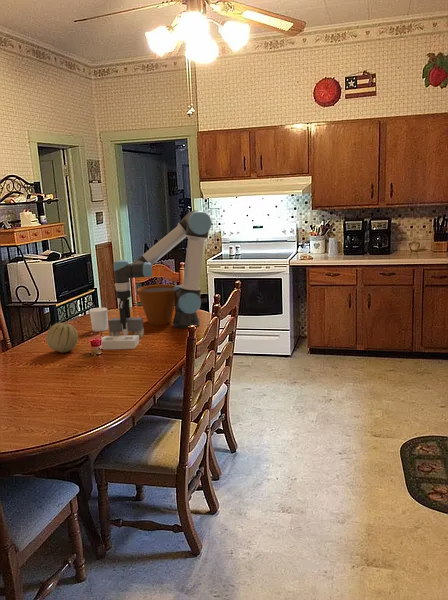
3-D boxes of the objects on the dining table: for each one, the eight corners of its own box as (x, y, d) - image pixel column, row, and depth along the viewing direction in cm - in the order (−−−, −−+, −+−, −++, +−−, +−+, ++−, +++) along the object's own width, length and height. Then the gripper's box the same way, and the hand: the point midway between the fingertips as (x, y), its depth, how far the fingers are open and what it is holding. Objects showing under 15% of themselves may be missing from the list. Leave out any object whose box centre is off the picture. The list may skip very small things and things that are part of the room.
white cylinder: (107, 332, 293) (105, 311, 291) (89, 332, 294) (87, 311, 291) (111, 327, 303) (109, 307, 301) (94, 328, 303) (92, 307, 301)
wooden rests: (144, 335, 284) (143, 327, 283) (141, 338, 278) (141, 331, 277) (112, 336, 285) (111, 328, 284) (109, 339, 279) (108, 331, 278)
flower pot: (136, 319, 320) (134, 286, 316) (175, 314, 327) (173, 282, 322) (142, 328, 298) (140, 293, 293) (184, 323, 304) (182, 289, 300)
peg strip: (143, 334, 283) (142, 317, 281) (141, 337, 278) (140, 319, 277) (112, 335, 284) (110, 318, 282) (109, 338, 280) (108, 320, 278)
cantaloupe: (41, 354, 258) (38, 324, 255) (63, 346, 271) (60, 317, 267) (64, 357, 251) (60, 327, 248) (85, 349, 264) (82, 319, 261)
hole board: (139, 342, 270) (138, 335, 269) (135, 348, 261) (134, 340, 260) (104, 343, 271) (103, 336, 271) (99, 349, 262) (98, 341, 261)
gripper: (120, 287, 285) (123, 328, 290) (111, 293, 268) (115, 338, 273) (133, 286, 285) (137, 328, 290) (126, 293, 267) (129, 337, 272)
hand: (126, 333), depth 281 cm, fingers closed on peg strip, 5 cm apart
